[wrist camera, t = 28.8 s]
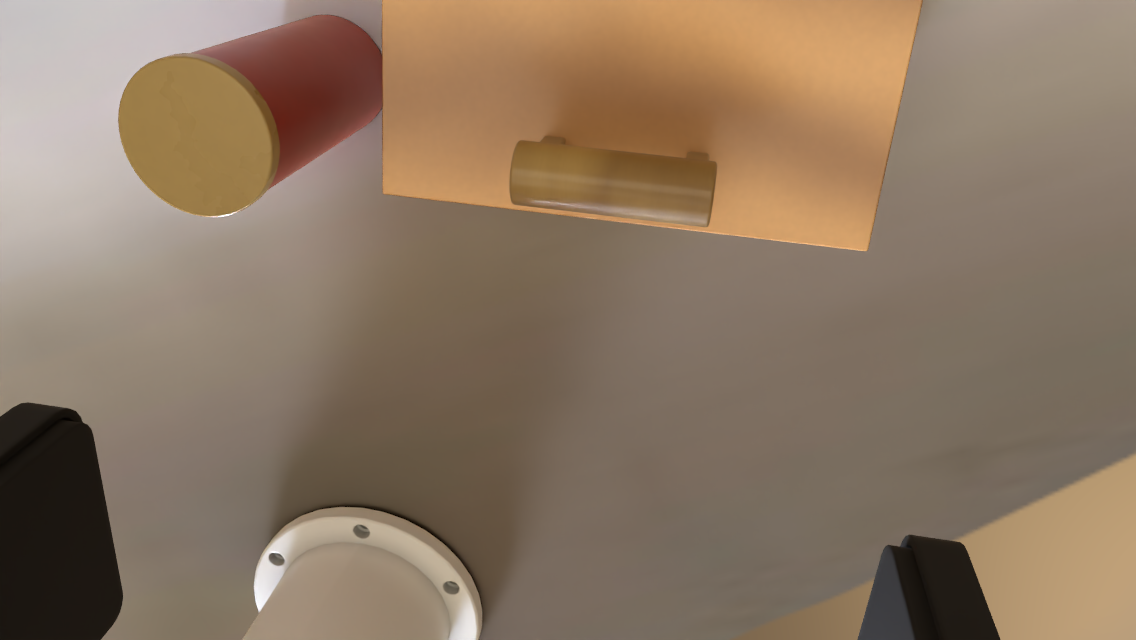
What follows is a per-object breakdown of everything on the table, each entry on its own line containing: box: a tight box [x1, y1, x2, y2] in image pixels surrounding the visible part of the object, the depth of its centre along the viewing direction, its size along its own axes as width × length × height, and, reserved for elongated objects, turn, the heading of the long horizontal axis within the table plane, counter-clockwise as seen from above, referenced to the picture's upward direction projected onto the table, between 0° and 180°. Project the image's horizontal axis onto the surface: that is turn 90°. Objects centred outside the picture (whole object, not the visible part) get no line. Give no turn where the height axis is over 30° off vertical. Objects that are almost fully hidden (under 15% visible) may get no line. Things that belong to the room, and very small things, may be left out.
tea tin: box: [118, 15, 382, 217], centre depth 33 cm, size 5×5×11 cm
